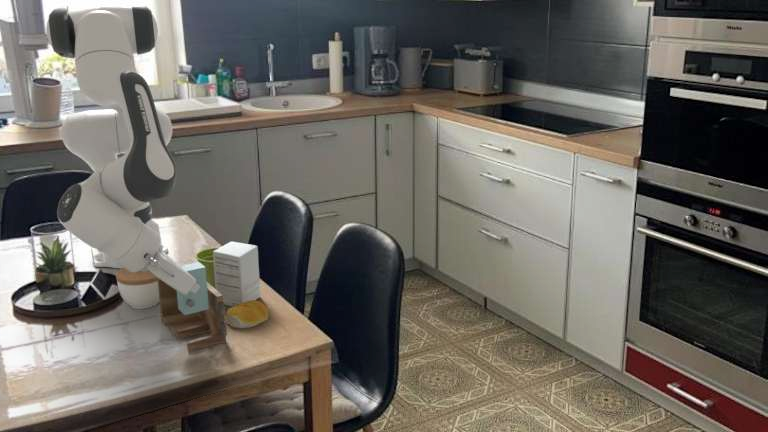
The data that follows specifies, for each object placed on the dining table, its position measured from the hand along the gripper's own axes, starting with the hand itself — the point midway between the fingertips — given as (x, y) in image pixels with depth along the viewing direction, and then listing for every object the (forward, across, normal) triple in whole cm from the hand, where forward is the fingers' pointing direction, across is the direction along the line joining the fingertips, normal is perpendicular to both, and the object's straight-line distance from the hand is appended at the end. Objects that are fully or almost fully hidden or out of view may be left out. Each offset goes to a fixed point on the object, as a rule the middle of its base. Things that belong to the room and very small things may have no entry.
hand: (192, 284), depth 153 cm
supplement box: (+19, +13, -2) cm, 23 cm away
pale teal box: (+4, 0, +4) cm, 5 cm away
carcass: (+9, +4, +8) cm, 13 cm away
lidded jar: (+7, +24, +11) cm, 27 cm away
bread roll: (+18, +3, 0) cm, 18 cm away
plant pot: (+18, +22, -1) cm, 29 cm away
